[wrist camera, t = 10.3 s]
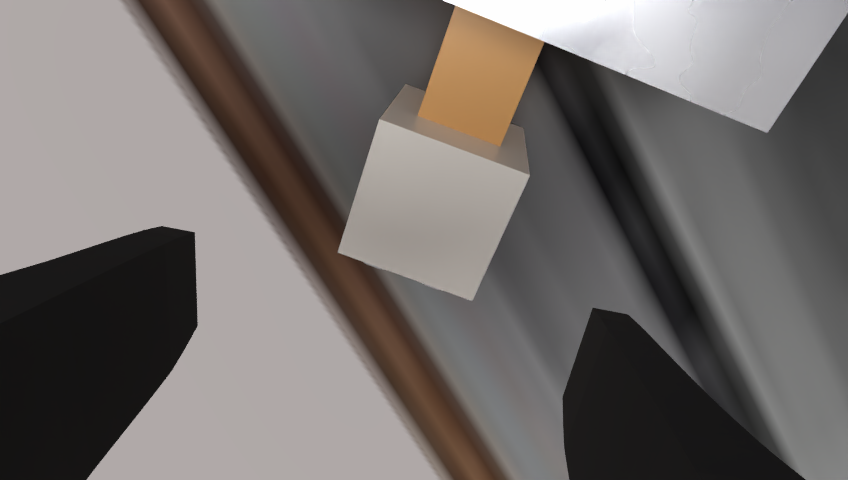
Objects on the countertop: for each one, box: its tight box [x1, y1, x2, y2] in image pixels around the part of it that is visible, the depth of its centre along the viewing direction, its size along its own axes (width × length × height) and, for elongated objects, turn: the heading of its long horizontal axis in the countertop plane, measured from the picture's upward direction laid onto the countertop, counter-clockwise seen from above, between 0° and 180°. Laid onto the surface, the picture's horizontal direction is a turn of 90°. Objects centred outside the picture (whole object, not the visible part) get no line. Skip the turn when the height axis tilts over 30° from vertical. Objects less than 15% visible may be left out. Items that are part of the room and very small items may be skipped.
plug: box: [338, 5, 544, 301], centre depth 15 cm, size 4×17×4 cm, turn 161°
